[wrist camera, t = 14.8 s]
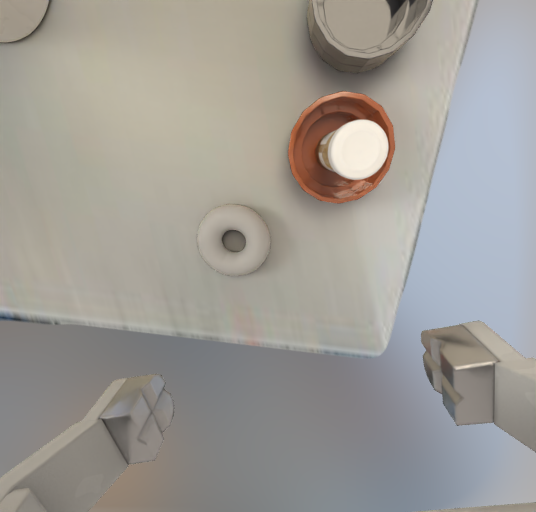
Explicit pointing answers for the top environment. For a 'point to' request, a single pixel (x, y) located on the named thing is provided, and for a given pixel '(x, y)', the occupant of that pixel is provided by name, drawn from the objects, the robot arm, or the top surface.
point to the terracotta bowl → (326, 121)
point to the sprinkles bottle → (353, 150)
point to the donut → (242, 222)
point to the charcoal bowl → (362, 30)
